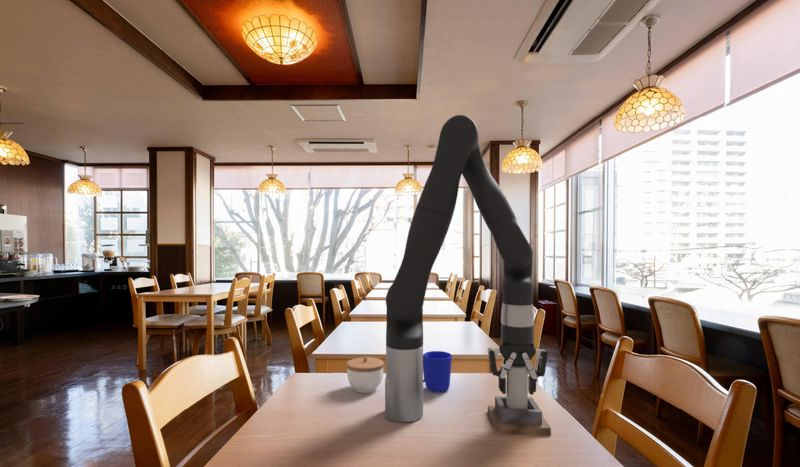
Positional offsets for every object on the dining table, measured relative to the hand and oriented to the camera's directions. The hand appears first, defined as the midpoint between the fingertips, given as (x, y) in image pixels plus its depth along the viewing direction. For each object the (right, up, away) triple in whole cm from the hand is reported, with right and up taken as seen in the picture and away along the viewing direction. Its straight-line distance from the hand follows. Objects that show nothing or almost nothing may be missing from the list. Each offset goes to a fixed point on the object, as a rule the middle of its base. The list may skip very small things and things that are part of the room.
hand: (517, 392), depth 100 cm
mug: (-19, -7, +22) cm, 30 cm away
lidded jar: (-38, -7, +22) cm, 44 cm away
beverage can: (0, -6, 0) cm, 6 cm away
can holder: (0, -7, 0) cm, 7 cm away
